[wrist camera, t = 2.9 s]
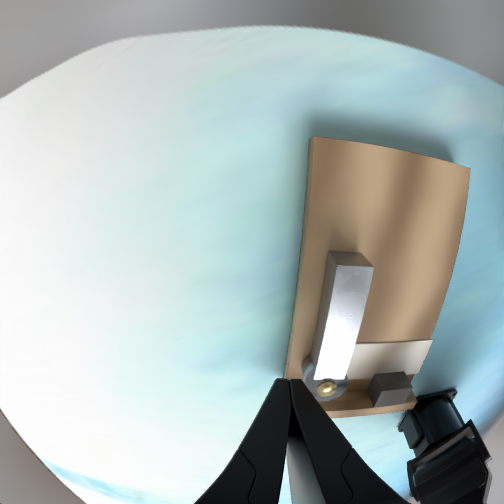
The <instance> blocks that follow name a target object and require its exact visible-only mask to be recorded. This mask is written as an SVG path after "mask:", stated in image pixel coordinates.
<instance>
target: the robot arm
mask: <svg viewBox="0 0 504 504" xmlns="http://www.w3.org/2000/svg"><path fill="white" fill-rule="evenodd" d="M456 394H457V390H456V389H454V390H450V391H445V392H441V393H436V394H431V395H426V396H420V397H418V398H417V399H416V400H417V403H416V405H415V406H414V408H413V409H410V410H409V412H408V413H407V415H406V417H405V418H404V420H403V421H402V423H401V425H400V426H399V428H398V431H399V432H404V434H405V437H406V440H407V442H408V445H409V448H410V449H413V450H414V453H415V456H416V458H414V459H412V460H409V461H408V462H407V473H408V479H409V486H410V496H411V497H414V498H415V500H416V501H417V502H418V503H419V504H487V503H486V501H487V497H488V493H489V489H490V485H491V480H492V474H491V472H490V469H489V467H488V465H487V462H489V461H490V460H492V458H491V456H490V454H489V452H488V450H487V447H486V446H485V443H484V441H483V440H482V438H481V436H480V434H479V432H478V430H477V428H476V427H475V425H474V423H473V422H472V420H471V419H470V420H469V421H468V422H467V423H466V424H465V423H464V421H463V419H462V417H461V416H460V414H459V412H458V410H457V408H456V407H455V405H454V403H453V399H454V398H455V396H456ZM473 436H475V437H474V438H472V437H473ZM286 456H287V465H288V473H289V482H290V491H291V500H292V504H411V503H409V502H408V501H406V500H405V499H403V498H402V497H401V496H400V495H399V494H398V493H396V492H395V491H394V490H393V489H392V488H391V487H390V486H389V485H388V484H386V483H385V482H384V481H383V480H382V479H381V478H380V477H379V476H378V475H377V474H376V473H375V472H374V471H373V470H372V469H371V468H370V467H369V466H368V465H367V464H366V463H365V462H364V460H363V459H362V458H361V457H360V456H359V454H358V453H357V452H356V451H355V449H354V448H352V446H351V444H350V443H349V442H348V440H347V439H346V438H345V436H344V435H343V434H342V433H341V431H340V430H339V429H338V427H337V426H336V425H335V423H334V422H333V421H332V419H331V418H330V417H329V416H328V414H327V413H326V412H325V410H324V409H323V408H322V406H321V405H320V404H319V402H318V401H317V399H316V398H315V397H314V395H313V394H312V393H311V391H310V390H309V389H308V387H307V386H306V385H305V383H304V382H303V380H302V379H289V380H288V379H287V378H276V379H275V381H274V383H273V385H272V387H271V389H270V391H269V393H268V395H267V397H266V399H265V401H264V402H263V404H262V406H261V408H260V410H259V412H258V414H257V415H256V417H255V419H254V421H253V423H252V425H251V426H250V428H249V430H248V432H247V433H246V435H245V437H244V439H243V440H242V442H241V444H240V446H239V447H238V450H236V452H235V454H234V455H233V457H232V459H231V460H230V462H229V463H228V465H227V466H226V468H225V469H224V471H223V472H222V473H221V474H220V475H219V477H218V478H217V479H216V480H215V482H214V483H213V484H212V485H211V486H210V487H209V488H208V489H207V490H206V491H205V492H204V494H203V495H202V496H201V497H200V498H199V499H198V500H197V501H196V502H195V503H194V504H278V502H279V496H280V490H281V484H282V478H283V471H284V464H285V457H286ZM0 504H1V503H0Z"/></svg>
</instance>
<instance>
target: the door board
mask: <svg viewBox="0 0 504 504" xmlns="http://www.w3.org/2000/svg"><path fill="white" fill-rule="evenodd" d="M469 179H470V168H468V167H465V166H462V165H458V164H455V163H451V162H448V161H444V160H441V159H437V158H433V157H429V156H425V155H421V154H416V153H412V152H408V151H403V150H398V149H393V148H388V147H383V146H378V145H372V144H366V143H360V142H354V141H347V140H340V139H332V138H324V137H315V136H314V137H312V138H310V139H309V154H308V170H307V184H306V197H305V209H304V221H303V231H302V242H301V251H300V261H299V270H298V278H297V287H296V295H295V303H294V311H293V318H292V325H291V333H290V340H289V346H288V353H287V360H286V366H285V372H284V378H287V379H288V380H289V379H302V380H303V376H302V368H301V366H302V362H303V360H304V359H305V358H306V357H307V356H308V355H309V354H310V353H311V349H312V344H313V339H314V334H315V328H316V323H317V318H318V312H319V306H320V301H321V295H322V288H323V282H324V276H325V269H326V262H327V255H328V250H330V251H345V252H360V253H362V254H363V255H364V256H365V258H366V259H367V260H368V261H369V262H370V263H371V264H372V265H373V267H374V270H373V275H372V280H371V284H370V289H369V293H368V297H367V302H366V306H365V310H364V314H363V318H362V321H361V325H360V329H359V332H358V336H357V340H356V343H355V346H354V350H353V353H352V356H351V360H350V363H349V366H348V369H347V372H346V374H347V377H348V381H349V385H348V388H347V389H346V391H345V392H344V393H343V394H342V395H341V396H339V397H337V398H335V399H333V400H329V401H322V402H321V401H318V402H319V404H320V405H321V406H322V408H323V409H324V410H325V412H326V413H327V414H328V416H329V417H330V418H343V417H355V416H366V415H375V414H383V413H390V412H396V411H403V410H408V409H413V408H414V406H415V405H416V403H417V400H416V398H415V396H414V394H413V392H412V390H411V389H412V388H413V387H412V385H411V383H410V382H411V380H412V378H413V376H414V374H417V373H419V371H420V368H421V366H422V364H423V362H424V360H425V358H426V355H427V353H428V351H429V348H430V346H431V344H432V341H433V339H430V338H431V335H432V333H433V330H434V328H435V325H436V322H437V320H438V317H439V314H440V311H441V308H442V305H443V302H444V299H445V296H446V293H447V289H448V286H449V283H450V279H451V276H452V272H453V268H454V264H455V260H456V256H457V252H458V248H459V243H460V238H461V233H462V228H463V223H464V217H465V211H466V204H467V197H468V189H469Z"/></svg>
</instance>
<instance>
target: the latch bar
mask: <svg viewBox="0 0 504 504" xmlns="http://www.w3.org/2000/svg"><path fill="white" fill-rule="evenodd" d="M373 270H374V267H373V265H372V264H371V263H370V262H369V261H368V260H367V259H366V258H365V256H364V255H363V254H362V253H360V252H345V251H330V250H328V255H327V262H326V269H325V276H324V282H323V288H322V295H321V301H320V306H319V312H318V318H317V323H316V328H315V334H314V339H313V344H312V349H311V353H310V354H309V355H308V356H307V357H306V358H305V359H304V360H303V362H302V366H301V368H302V376H303V382H304V383H305V385H306V386H307V387H308V389H309V390H310V391H311V393H312V394H313V395H314V397H315V398H316V399H317V401H321V402H322V401H329V400H333V399H335V398H337V397H339V396H341V395H342V394H343V393H344V392H345V391H346V389H347V388H348V385H349V381H348V377H347V374H346V372H347V369H348V366H349V363H350V360H351V356H352V353H353V350H354V346H355V343H356V340H357V336H358V332H359V329H360V325H361V321H362V318H363V314H364V310H365V306H366V302H367V297H368V293H369V289H370V284H371V280H372V275H373Z"/></svg>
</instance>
